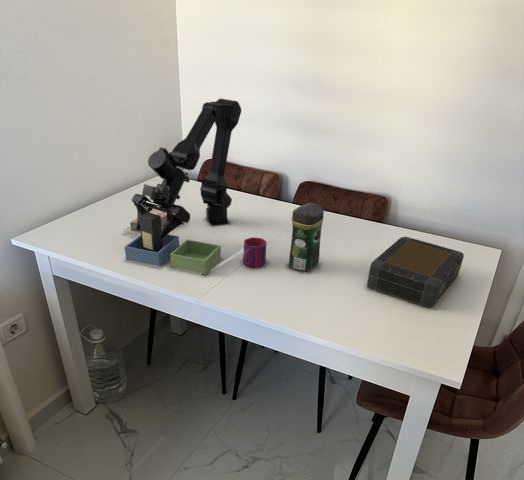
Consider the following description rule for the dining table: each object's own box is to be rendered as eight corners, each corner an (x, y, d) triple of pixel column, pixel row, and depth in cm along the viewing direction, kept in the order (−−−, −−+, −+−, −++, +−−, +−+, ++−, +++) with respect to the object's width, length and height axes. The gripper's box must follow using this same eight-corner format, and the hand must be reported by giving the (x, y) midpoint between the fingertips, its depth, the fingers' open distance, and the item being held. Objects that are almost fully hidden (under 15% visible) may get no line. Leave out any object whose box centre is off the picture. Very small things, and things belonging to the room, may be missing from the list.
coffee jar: (299, 256, 156) (305, 198, 145) (322, 263, 153) (329, 204, 142) (283, 267, 150) (288, 207, 138) (306, 275, 146) (313, 214, 135)
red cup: (269, 261, 152) (270, 241, 148) (251, 274, 145) (251, 252, 141) (251, 255, 155) (252, 235, 151) (232, 267, 148) (232, 246, 144)
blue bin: (148, 243, 159) (146, 230, 157) (179, 249, 157) (178, 236, 154) (126, 260, 149) (124, 246, 146) (159, 267, 146) (158, 253, 144)
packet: (151, 249, 155) (147, 212, 148) (164, 253, 153) (160, 215, 146) (142, 253, 152) (138, 216, 145) (155, 258, 150) (151, 220, 143)
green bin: (187, 253, 155) (187, 239, 152) (220, 259, 152) (220, 245, 150) (171, 268, 146) (169, 254, 144) (205, 275, 144) (205, 261, 141)
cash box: (395, 256, 159) (400, 233, 154) (458, 275, 150) (466, 252, 145) (362, 287, 142) (366, 262, 137) (431, 310, 133) (438, 285, 128)
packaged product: (156, 203, 174) (179, 209, 171) (157, 216, 177) (180, 223, 174) (121, 220, 161) (146, 227, 158) (123, 234, 164) (147, 241, 161)
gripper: (132, 166, 145) (109, 213, 144) (182, 179, 138) (158, 229, 137) (152, 186, 155) (131, 230, 154) (200, 199, 148) (178, 246, 147)
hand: (149, 233), depth 148 cm, fingers open, 9 cm apart
